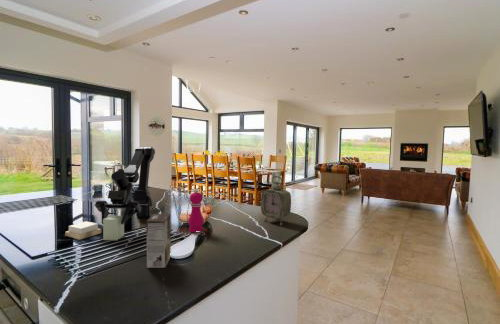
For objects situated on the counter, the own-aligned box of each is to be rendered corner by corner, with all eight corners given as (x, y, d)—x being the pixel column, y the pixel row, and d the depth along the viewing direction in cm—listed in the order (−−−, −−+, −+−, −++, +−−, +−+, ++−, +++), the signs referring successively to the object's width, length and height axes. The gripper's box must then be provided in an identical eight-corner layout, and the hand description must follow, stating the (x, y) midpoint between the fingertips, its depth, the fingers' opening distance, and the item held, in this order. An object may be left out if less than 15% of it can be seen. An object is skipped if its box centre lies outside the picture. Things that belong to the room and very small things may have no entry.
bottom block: (87, 230, 130) (87, 225, 130) (101, 234, 126) (101, 229, 126) (65, 237, 121) (65, 231, 121) (79, 241, 117) (79, 235, 117)
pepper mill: (206, 229, 134) (206, 188, 132) (198, 234, 127) (199, 191, 125) (193, 227, 136) (193, 187, 134) (185, 232, 129) (185, 189, 128)
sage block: (110, 235, 123) (110, 215, 122) (123, 235, 123) (123, 215, 122) (103, 240, 117) (103, 219, 116) (117, 240, 117) (117, 219, 116)
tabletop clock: (260, 221, 150) (261, 175, 148) (270, 218, 156) (272, 174, 154) (282, 227, 140) (283, 178, 138) (292, 223, 146) (293, 176, 145)
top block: (86, 226, 129) (85, 221, 128) (97, 229, 125) (97, 223, 125) (68, 231, 121) (68, 226, 121) (80, 234, 118) (80, 228, 118)
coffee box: (153, 256, 101) (153, 213, 100) (171, 256, 102) (171, 213, 101) (146, 268, 92) (145, 220, 91) (165, 267, 93) (165, 220, 91)
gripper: (96, 182, 122) (81, 213, 112) (138, 183, 122) (127, 214, 112) (105, 196, 131) (93, 226, 120) (145, 197, 131) (136, 227, 121)
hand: (112, 223), depth 118 cm, fingers open, 8 cm apart
